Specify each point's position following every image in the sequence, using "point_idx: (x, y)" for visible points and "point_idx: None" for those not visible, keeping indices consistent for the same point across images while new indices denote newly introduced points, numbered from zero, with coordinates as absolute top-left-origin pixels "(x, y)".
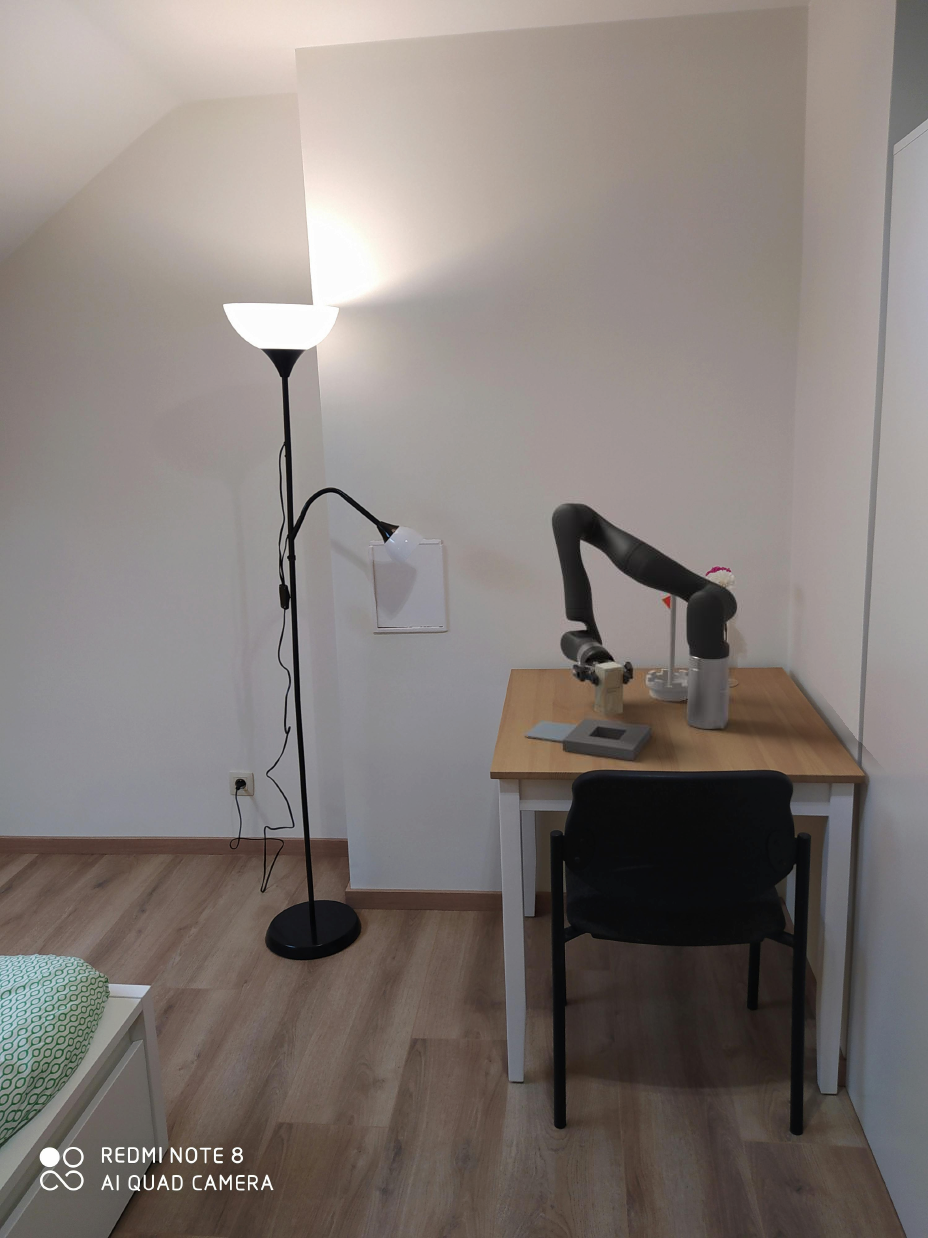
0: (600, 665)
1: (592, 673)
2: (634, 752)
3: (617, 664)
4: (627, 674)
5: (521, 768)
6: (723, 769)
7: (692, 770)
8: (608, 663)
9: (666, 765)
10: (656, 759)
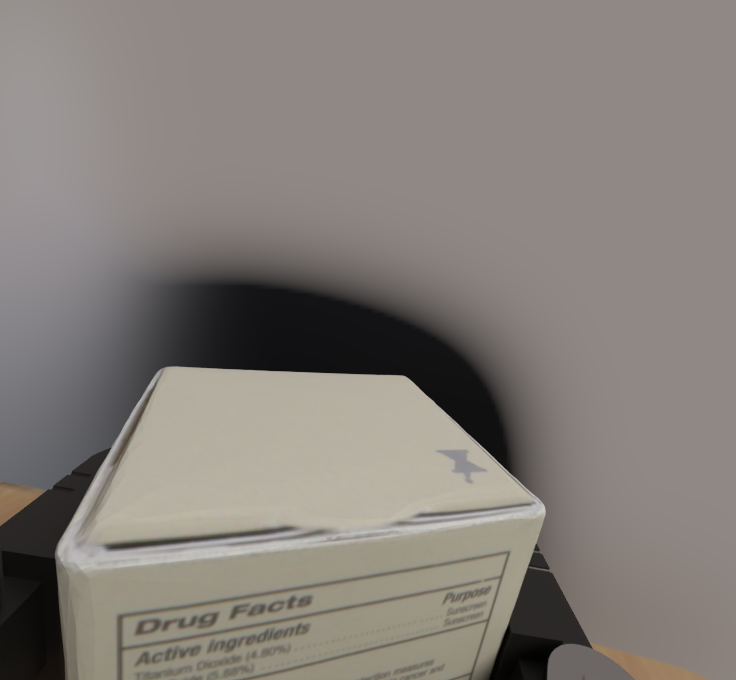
0: (453, 440)
1: (544, 612)
2: None
3: (186, 400)
4: (68, 487)
5: (669, 675)
6: (32, 496)
7: None
8: (298, 461)
9: None
10: None
